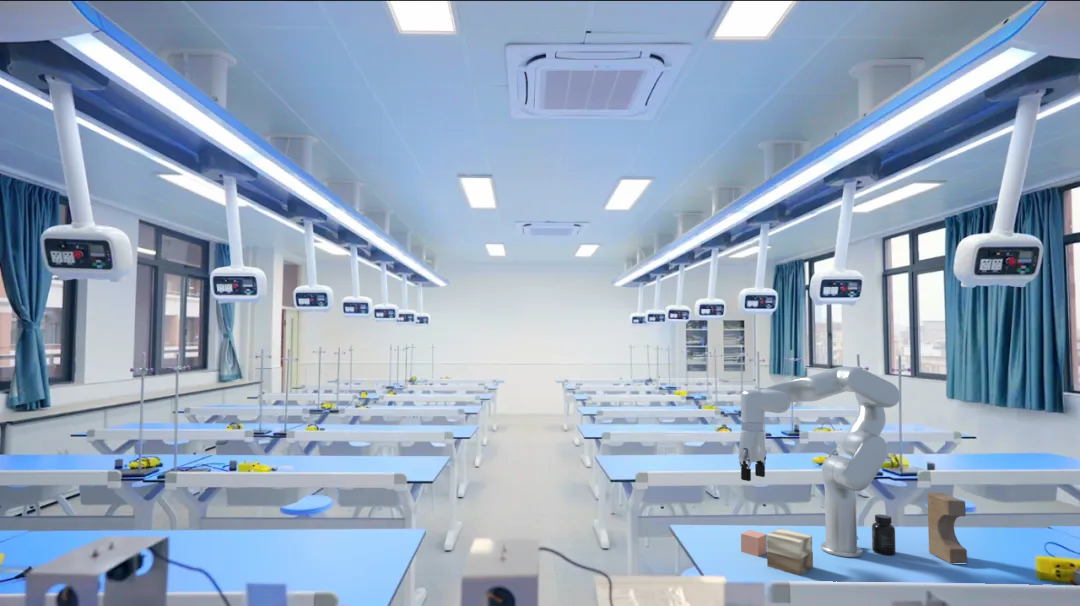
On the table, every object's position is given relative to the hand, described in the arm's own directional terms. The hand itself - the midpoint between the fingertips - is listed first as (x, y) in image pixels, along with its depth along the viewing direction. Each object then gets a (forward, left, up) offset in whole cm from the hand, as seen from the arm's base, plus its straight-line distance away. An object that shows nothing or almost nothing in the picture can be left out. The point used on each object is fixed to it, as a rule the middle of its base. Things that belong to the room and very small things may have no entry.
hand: (753, 478), depth 202 cm
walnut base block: (+4, +14, -25) cm, 29 cm away
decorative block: (-44, +45, -24) cm, 68 cm away
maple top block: (+4, +14, -20) cm, 24 cm away
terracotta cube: (0, 0, -24) cm, 24 cm away
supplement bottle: (-34, +29, -24) cm, 51 cm away
